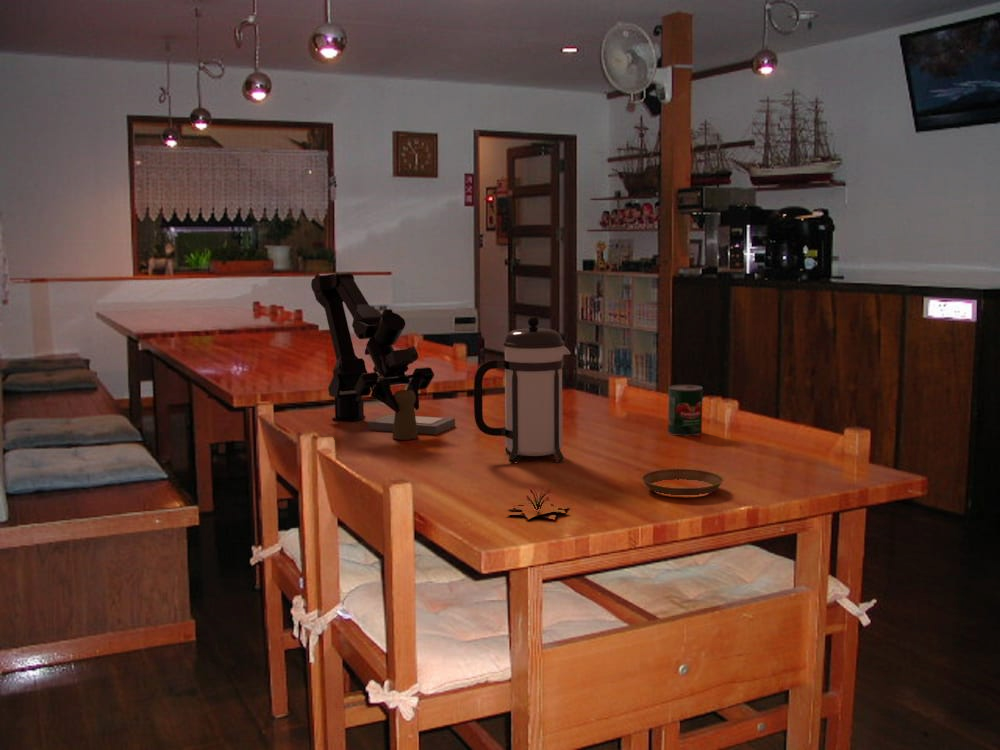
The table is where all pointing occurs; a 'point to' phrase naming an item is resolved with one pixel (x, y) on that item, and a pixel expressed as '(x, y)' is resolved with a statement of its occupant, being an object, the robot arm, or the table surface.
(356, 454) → the table surface
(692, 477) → the plant saucer
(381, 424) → the dock step
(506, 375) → the coffee press
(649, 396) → the table surface
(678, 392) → the canned tomato
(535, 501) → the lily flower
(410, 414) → the cork
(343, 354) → the robot arm
